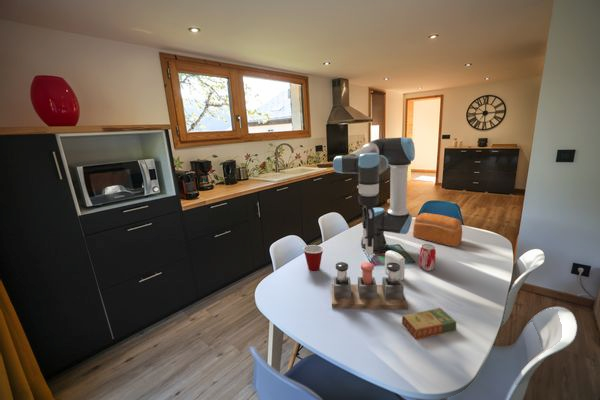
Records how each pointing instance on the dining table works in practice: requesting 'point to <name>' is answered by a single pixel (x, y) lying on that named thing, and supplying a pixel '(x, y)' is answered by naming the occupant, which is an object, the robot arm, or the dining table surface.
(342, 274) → the grey plug
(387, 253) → the photo printer
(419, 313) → the carton
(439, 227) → the bread
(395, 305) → the socket board
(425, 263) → the soda can
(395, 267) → the grey plug
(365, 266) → the red plug
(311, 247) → the plastic cup
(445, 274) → the dining table surface
